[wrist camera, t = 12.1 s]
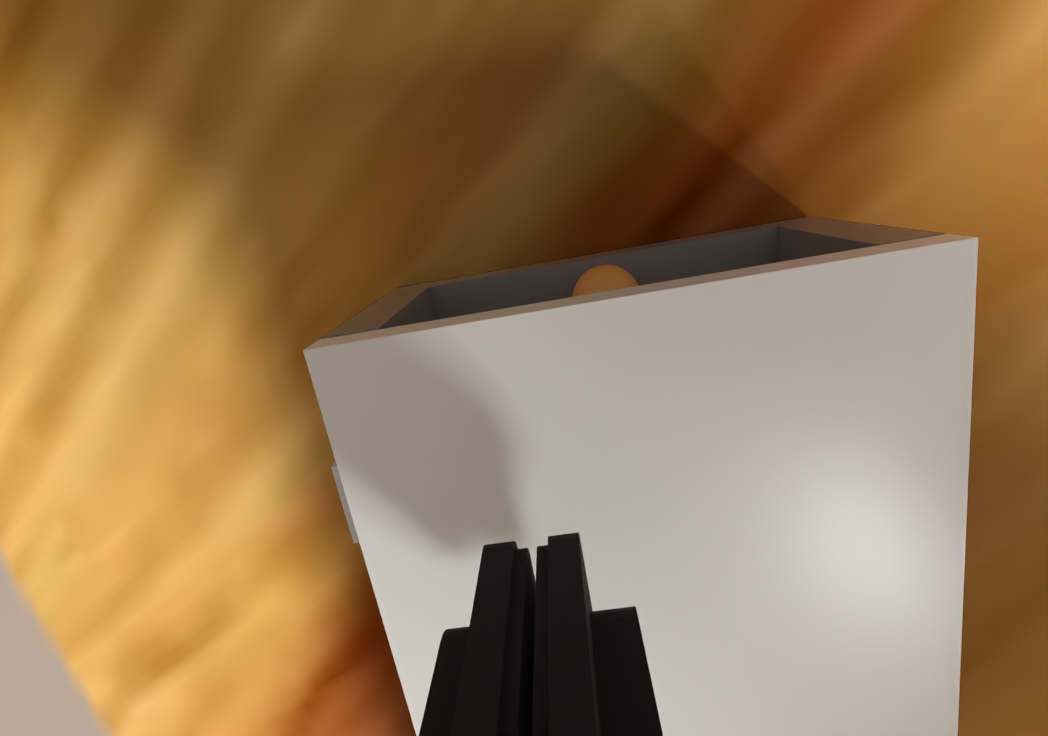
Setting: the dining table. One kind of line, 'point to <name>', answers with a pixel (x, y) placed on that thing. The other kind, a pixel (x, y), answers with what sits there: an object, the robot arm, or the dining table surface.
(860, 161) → the dining table surface
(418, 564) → the plate
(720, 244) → the cable duct
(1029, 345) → the dining table surface
